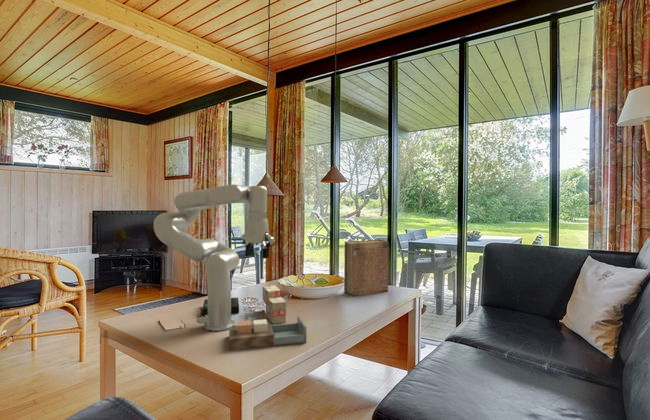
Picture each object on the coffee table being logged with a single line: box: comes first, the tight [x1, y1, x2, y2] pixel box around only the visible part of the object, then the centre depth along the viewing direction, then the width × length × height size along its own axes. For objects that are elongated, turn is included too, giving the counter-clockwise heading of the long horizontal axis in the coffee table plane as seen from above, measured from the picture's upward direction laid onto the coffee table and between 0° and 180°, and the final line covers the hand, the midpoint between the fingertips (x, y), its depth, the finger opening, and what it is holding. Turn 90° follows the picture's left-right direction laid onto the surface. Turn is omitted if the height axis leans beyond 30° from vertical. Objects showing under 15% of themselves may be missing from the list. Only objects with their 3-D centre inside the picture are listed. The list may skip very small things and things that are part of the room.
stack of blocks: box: [262, 284, 287, 325], centre depth 166 cm, size 21×6×12 cm, turn 21°
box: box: [271, 315, 307, 347], centre depth 140 cm, size 12×14×6 cm
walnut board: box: [228, 322, 275, 351], centre depth 136 cm, size 16×14×4 cm
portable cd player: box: [200, 297, 240, 317], centre depth 175 cm, size 16×17×4 cm
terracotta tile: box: [236, 320, 252, 334], centre depth 135 cm, size 5×5×3 cm
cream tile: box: [252, 319, 269, 332], centre depth 137 cm, size 5×5×3 cm
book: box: [343, 239, 390, 297], centre depth 211 cm, size 25×9×30 cm, turn 119°
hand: (257, 256), depth 148 cm, fingers open, 9 cm apart
